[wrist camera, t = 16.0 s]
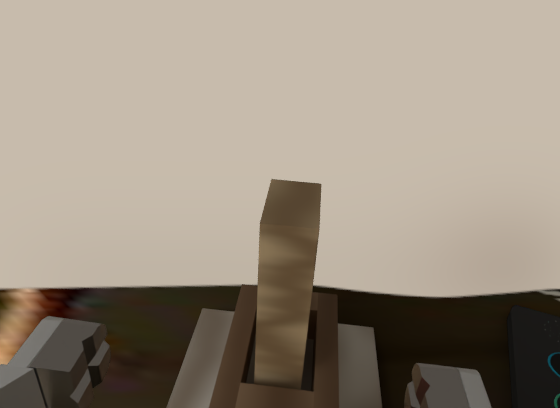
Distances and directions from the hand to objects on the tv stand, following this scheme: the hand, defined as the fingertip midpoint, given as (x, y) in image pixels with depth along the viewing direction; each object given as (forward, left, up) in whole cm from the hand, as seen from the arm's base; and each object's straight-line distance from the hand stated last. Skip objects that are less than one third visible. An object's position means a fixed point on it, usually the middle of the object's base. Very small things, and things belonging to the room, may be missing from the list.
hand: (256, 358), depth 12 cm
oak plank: (0, +13, -17) cm, 21 cm away
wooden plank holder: (0, +13, -18) cm, 22 cm away
